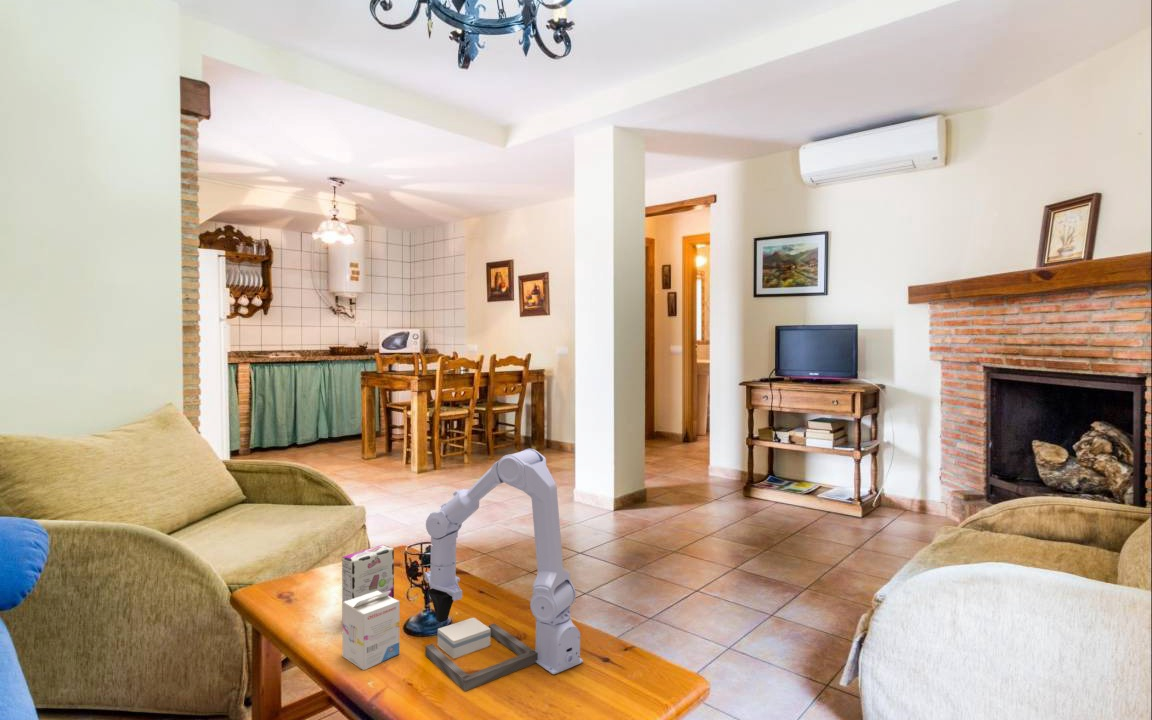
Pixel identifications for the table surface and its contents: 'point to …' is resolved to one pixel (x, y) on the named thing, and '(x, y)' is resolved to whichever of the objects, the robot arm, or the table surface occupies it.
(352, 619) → the ink box
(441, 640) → the carton
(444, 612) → the robot arm
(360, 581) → the candy bar box
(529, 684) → the table surface
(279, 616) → the table surface
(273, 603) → the table surface
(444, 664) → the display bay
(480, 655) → the table surface
